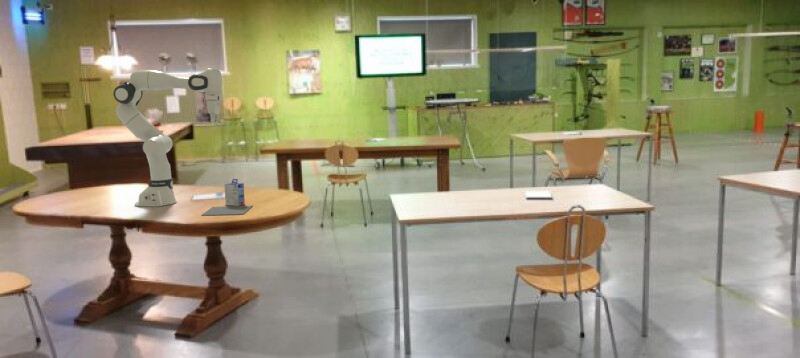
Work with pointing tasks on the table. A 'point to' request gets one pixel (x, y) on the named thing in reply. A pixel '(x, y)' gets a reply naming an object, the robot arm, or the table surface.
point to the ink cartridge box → (234, 193)
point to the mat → (227, 210)
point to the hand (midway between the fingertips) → (213, 122)
